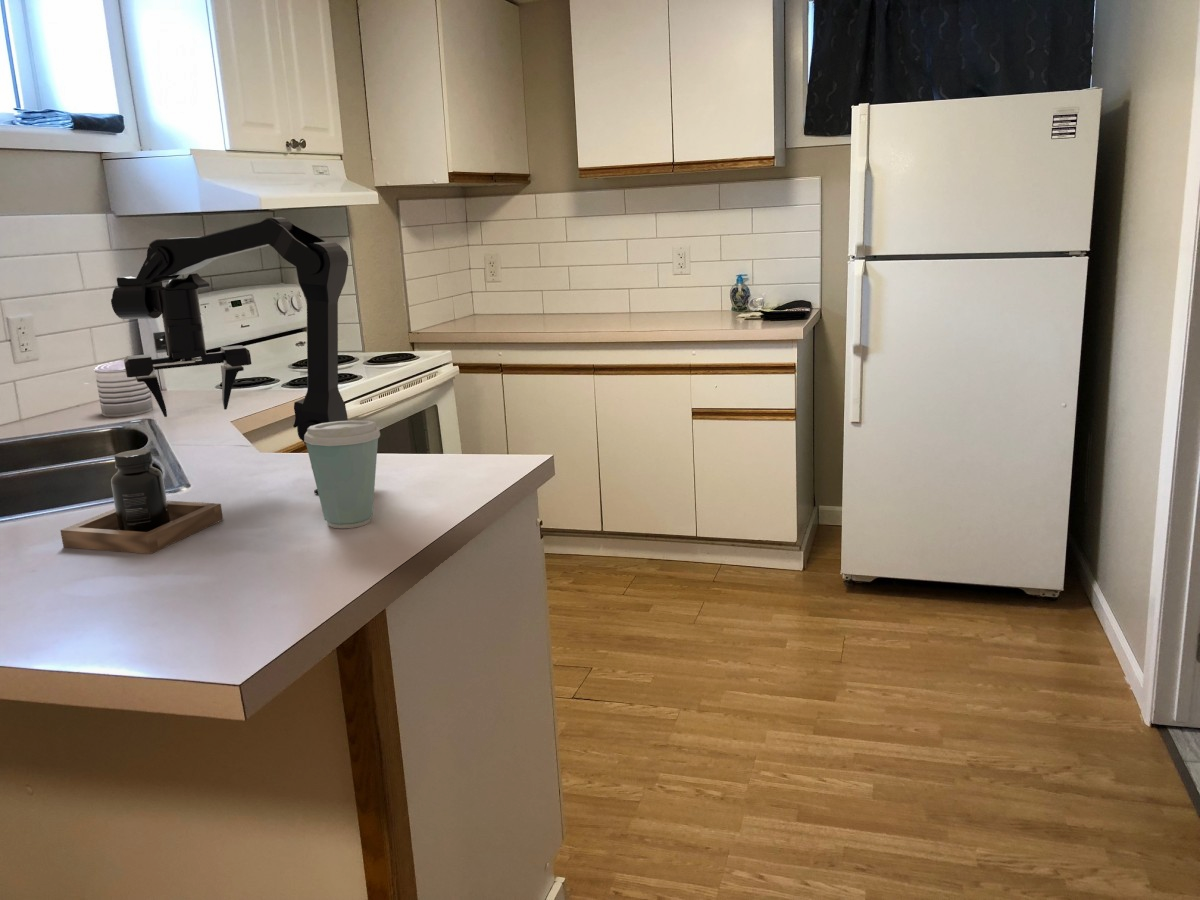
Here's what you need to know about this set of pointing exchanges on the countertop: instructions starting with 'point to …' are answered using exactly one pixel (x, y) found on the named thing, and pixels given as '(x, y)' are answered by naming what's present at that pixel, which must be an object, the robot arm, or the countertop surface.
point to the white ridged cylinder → (121, 391)
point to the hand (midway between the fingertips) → (195, 412)
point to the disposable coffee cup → (344, 469)
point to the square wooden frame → (105, 537)
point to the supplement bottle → (139, 492)
